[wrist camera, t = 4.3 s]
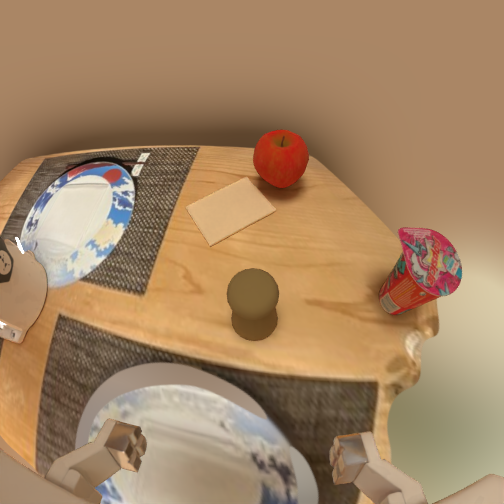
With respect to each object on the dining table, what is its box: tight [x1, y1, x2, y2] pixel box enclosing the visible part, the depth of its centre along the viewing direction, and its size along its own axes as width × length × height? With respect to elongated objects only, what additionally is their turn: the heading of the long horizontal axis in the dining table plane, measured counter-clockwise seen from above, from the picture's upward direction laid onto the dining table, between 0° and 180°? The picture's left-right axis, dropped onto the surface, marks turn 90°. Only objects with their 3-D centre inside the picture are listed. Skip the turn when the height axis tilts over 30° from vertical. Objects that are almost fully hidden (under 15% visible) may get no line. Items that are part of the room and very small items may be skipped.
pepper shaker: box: [227, 268, 279, 341], centre depth 31 cm, size 6×6×11 cm
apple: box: [253, 130, 309, 188], centre depth 42 cm, size 9×8×11 cm
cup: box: [379, 228, 462, 315], centre depth 31 cm, size 9×8×12 cm
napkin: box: [185, 177, 276, 247], centre depth 44 cm, size 12×9×1 cm
